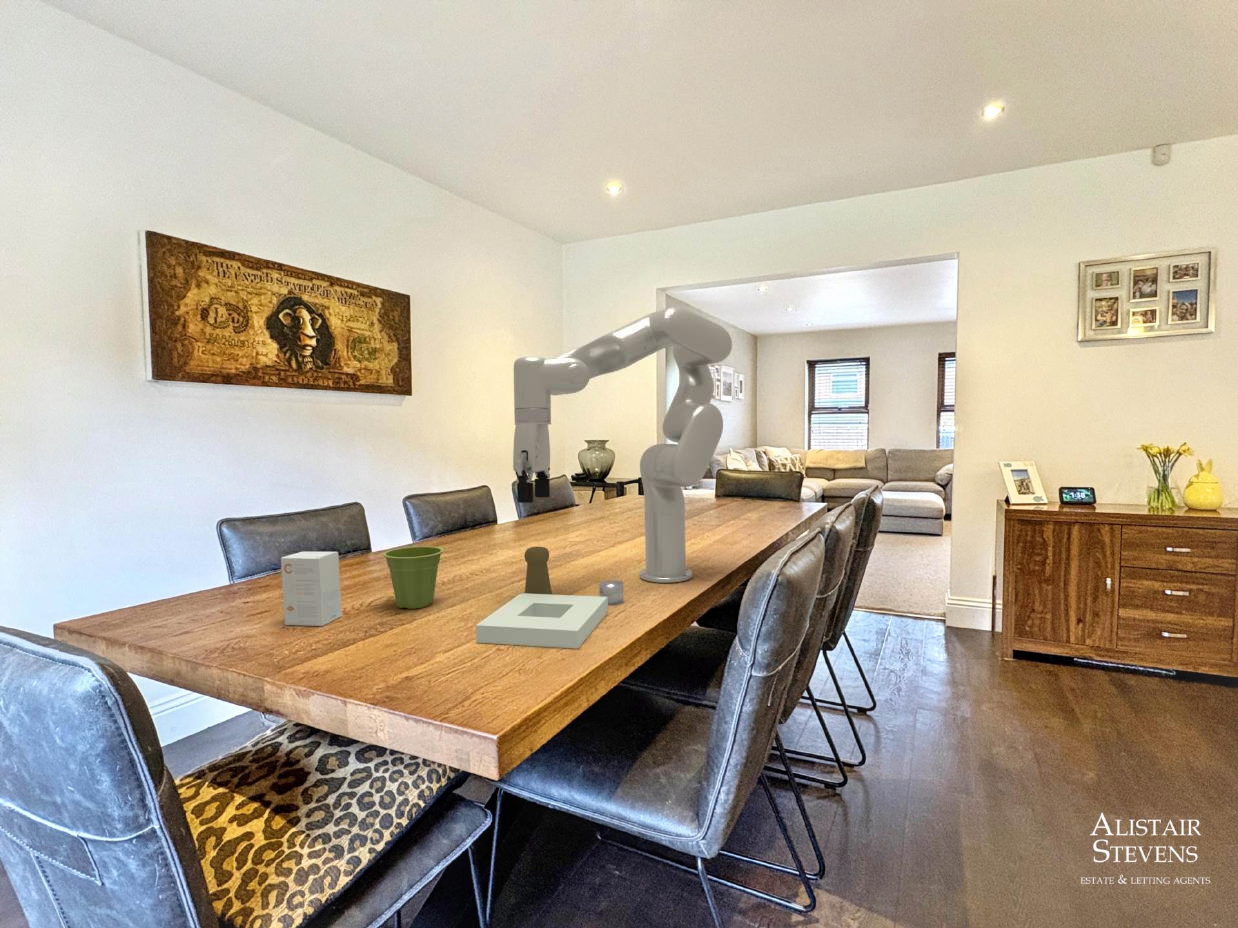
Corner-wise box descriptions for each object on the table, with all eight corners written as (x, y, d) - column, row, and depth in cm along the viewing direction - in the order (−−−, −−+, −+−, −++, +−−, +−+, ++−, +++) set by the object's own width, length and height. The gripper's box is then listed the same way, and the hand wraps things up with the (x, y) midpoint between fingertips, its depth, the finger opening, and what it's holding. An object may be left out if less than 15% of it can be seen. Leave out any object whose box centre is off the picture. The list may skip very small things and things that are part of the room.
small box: (342, 616, 121) (339, 551, 120) (322, 626, 115) (318, 558, 114) (306, 615, 122) (302, 550, 121) (283, 625, 116) (279, 557, 115)
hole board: (521, 607, 124) (520, 593, 123) (607, 611, 120) (607, 596, 119) (476, 642, 104) (475, 625, 104) (578, 648, 100) (577, 630, 100)
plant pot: (407, 616, 120) (405, 559, 119) (374, 607, 127) (371, 553, 126) (457, 602, 129) (455, 549, 128) (423, 593, 136) (421, 543, 136)
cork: (555, 594, 133) (553, 544, 132) (549, 602, 127) (547, 550, 126) (527, 594, 134) (526, 544, 133) (520, 602, 128) (518, 550, 127)
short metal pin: (602, 598, 130) (602, 579, 129) (625, 599, 128) (625, 580, 128) (596, 605, 125) (596, 585, 125) (620, 606, 124) (620, 586, 123)
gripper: (530, 418, 137) (532, 495, 138) (498, 417, 120) (500, 504, 121) (563, 418, 135) (564, 495, 136) (534, 416, 118) (536, 505, 119)
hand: (534, 499), depth 128 cm, fingers open, 9 cm apart
